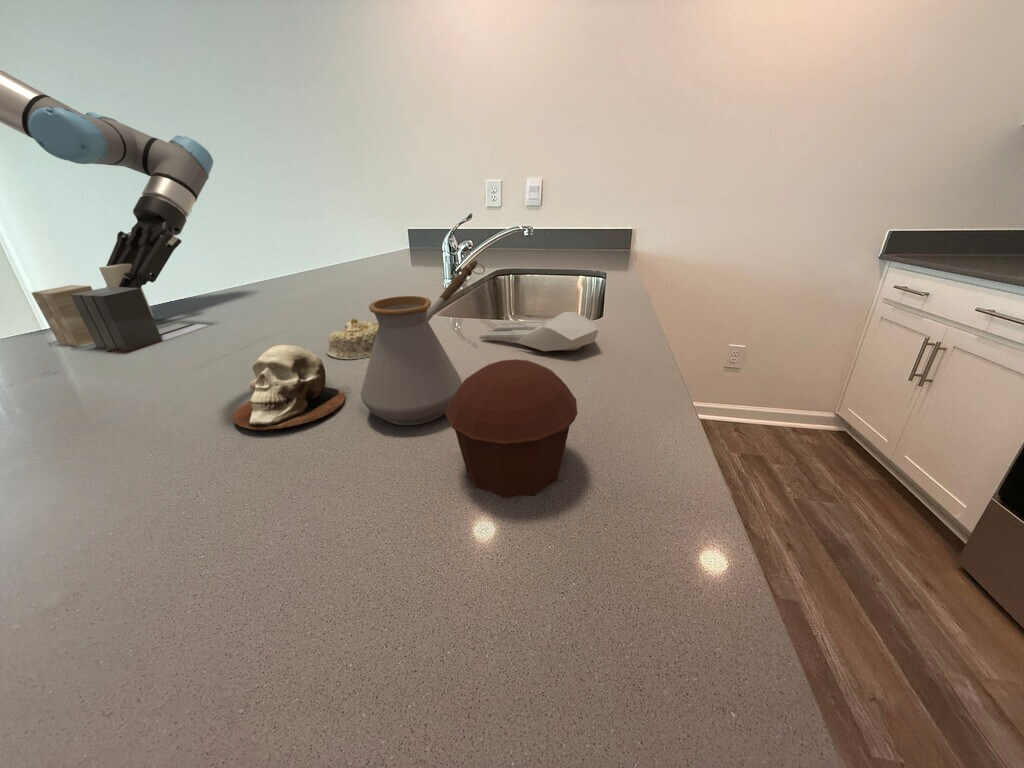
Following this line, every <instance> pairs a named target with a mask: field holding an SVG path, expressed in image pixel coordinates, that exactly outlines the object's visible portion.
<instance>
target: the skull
mask: <svg viewBox="0 0 1024 768" xmlns="http://www.w3.org/2000/svg"><path fill="white" fill-rule="evenodd" d="M252 371H253V373H254V375H255V379H254V380H251V381H250V383H249V388H250V390H251V391H253V394H252V396H251V398H250V400H249V401H247V402H245V403H243V404H242V405H240V406H238V408H236V410H235V411H234V412H233V414H232V417H231V419H232V422H233V423H234V424H235V425H237V426H239V427H241V428H245V429H248V430H255V431H257V430H259V431H269V430H276V429H282V428H290V427H295V426H300V425H302V424H306V423H310V422H313V423H315V422H317V420H318V419H323V417H328V416H330V414H331V413H333V412H334V411H336V410H337V409H339V408H340V407H341V406H342V405H343V404H344V402H345V398H346V395H345V394H344V393H343V391H341V390H340V389H336V388H332V387H328V386H326V384H327V383H326V379H327V378H326V377H327V375H326V369H325V366H324V363H323V360H322V359H321V358H320V357H319V356H317V355H316V354H315V353H313V352H312V351H310V350H308V349H305V348H304V347H300V346H297V345H291V344H290V345H289V344H278V345H274V346H272V347H270V348H268V349H266V351H264V352H263V353H262V354H261V355H260V356H259V357H258V358H257V359H256V360H255V361H254V363H253V365H252Z"/></svg>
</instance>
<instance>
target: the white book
mask: <svg viewBox="0 0 1024 768" xmlns="http://www.w3.org/2000/svg"><path fill="white" fill-rule="evenodd" d="M131 268H132V264H117V265H111V266H106V265H105V266H99V267H98V269H99V271H100V274H101V276H102V277H103V280H104V282H105V284H106V287H107V286H108V287H119V285H120V283H121V281H122V279H123V278H128V277H127V276H125V275H124V273H130V271H131ZM128 279H130V278H128ZM142 287H143V286H142ZM142 287H141V291H142V293H143V296H144V298H145V300H146V303H147V305H148V307H149V310H150V312H151V314H152V317H154V314H153V311H152V308H151V306H150V304H149V301H148V299H147V297H146V295H145V292H144V290H143V288H142Z"/></svg>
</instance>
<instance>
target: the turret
mask: <svg viewBox="0 0 1024 768" xmlns="http://www.w3.org/2000/svg"><path fill="white" fill-rule="evenodd" d="M598 333H599V329H598V327H597V326H596V324H595V323H594V321H592V320H590V319H588V318H587V317H585V316H583V315H581V314H580V313H578V312H576V311H564V312H561V313H560V314H558V315H555V316H554V317H552V318H549V319H547V320H546V321H531V322H530V321H529V322H528V321H525V322H521V323H520V322H518V323H517V322H516V323H500V324H498V325H497V326H495V327H493V328H492V330H487V331H485V332H484V333H482V334H480V335H479V336H478V338H479V339H480V340H482V341H487V342H488V341H508V342H514V343H517V344H518V345H522V346H527V347H529V348H532V349H536V350H539V351H541V352H550V351H564V352H568V351H569V352H570V351H575V350H578V349H580V348H581V347H582V346H587V345H588V344H591V343H594V342H595V341H596V338H597V336H598Z"/></svg>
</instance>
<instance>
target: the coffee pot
mask: <svg viewBox="0 0 1024 768" xmlns="http://www.w3.org/2000/svg"><path fill="white" fill-rule="evenodd" d="M478 265H479V266H481V268H482V269H483V272H477V271H475V269H476V267H477V266H478ZM485 272H486V269H485V266H484V265H483V264H482V263H480V262H478V260H475V259H474V260H473V261H471V262H470V263H469V264H468V266H464V268H463V269H462V272H460V273H459V274H458V275H456V277H453V279H452V281H451V282H450V283H449V284H448V285H447V287H446V288H445V290H444V291H443V292H442V293H441V295H440V296H439V297H438V299H437V300H436V301H435V302H434V303H433V304H432V301H431V300H430V298H428V297H425V296H417V295H402V296H401V295H400V296H391V297H386V298H382V299H378V300H375V301H373V302H371V303H370V304H369V306H368V310H369V311H370V312H371V313H373V314H374V316H375V319H376V321H377V323H378V324H379V326H378V329H377V333H376V337H375V341H374V345H373V349H372V352H371V356H370V357H369V361H368V363H367V364H368V365H367V368H366V371H365V375H364V379H363V384H362V387H361V391H360V397H361V401H362V403H363V404H364V406H365V407H366V408H367V409H368V410H369V411H370V412H371V413H372V414H373V415H375V416H377V417H379V418H381V419H383V420H386V422H388V423H391V424H394V425H398V426H415V425H422V424H425V423H429V422H432V421H434V420H437V419H438V418H440V417H441V416H443V415H444V414H445V411H446V409H447V407H448V405H449V402H450V400H451V398H452V397H453V396H454V395H455V393H456V391H457V390H458V388H459V387H460V386H461V384H462V383H463V381H462V378H461V376H460V375H459V373H458V371H457V370H456V368H455V366H454V364H453V362H452V361H451V359H450V357H449V356H448V354H447V352H446V350H445V348H444V347H443V345H442V344H441V342H440V340H439V338H438V337H437V335H436V333H435V331H434V329H433V328H432V326H431V325H430V322H429V321H430V320H431V319H432V318H433V316H435V314H436V313H437V312H438V310H439V309H440V308H441V307H442V306H443V305H444V303H446V302H447V301H448V300H449V299H450V298H451V297H452V296H453V295H454V294H455V293H456V292H457V291H458V290H459V289H460V288H461V287H462V286H463V285H464V283H465V281H466V280H467V278H468V277H470V276H472V275H473V273H474V274H475V275H483V274H484V273H485Z"/></svg>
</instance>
